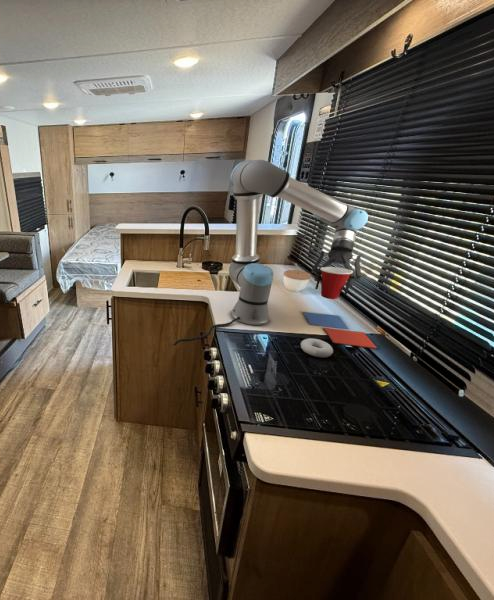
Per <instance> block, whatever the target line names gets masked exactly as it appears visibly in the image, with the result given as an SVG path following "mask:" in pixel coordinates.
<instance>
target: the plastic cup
mask: <svg viewBox="0 0 494 600" xmlns="http://www.w3.org/2000/svg"><path fill="white" fill-rule="evenodd" d="M319 268H320V267H319ZM320 269H321V271H322V272H321V273H322V274H321V281H320V283H321V286H320V288H321V290H320V295H321V297H322V298H325V299H328V300H337V299H338V298H339V296H340V294H341V292H343V289H344V287H345V286H346V284H347V281H348V278H349V276H350V275H351V274H352V273H353V272H354V270H353V269H352V270H353V271H352V270H348V269H345V267H336V266H328V267H325V268H324V267H322V268H320Z"/></svg>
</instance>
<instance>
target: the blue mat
mask: <svg viewBox="0 0 494 600" xmlns="http://www.w3.org/2000/svg"><path fill="white" fill-rule="evenodd" d="M302 313H303V315H304V317H305V319H306V320H307V322H308V324H309V325H312V326H321V327H326V328H334V329H342V330H349V327H348V326H347V325H346V323H345V322H344V321H343V320H342V318H341V317H340V316H339V315H333V314H324V313H317V312H308V311H307V312H306V311H303V312H302Z"/></svg>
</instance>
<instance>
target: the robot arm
mask: <svg viewBox="0 0 494 600" xmlns="http://www.w3.org/2000/svg"><path fill="white" fill-rule="evenodd" d="M230 183H231V185H232V187H233V198H234V199H235V200H236V224H235V228H236V229H235V254H233V255H232V257H231V262H230V264H229V266H228V274H229V277H230V279H232V281H233V282H235V283H236V285H237V286H238V287H239V288H240V289H239V294H238V299H237V301H236V303H235V304H234V306H233V308H232V310H231V318H233V319H232V320H231V321H229V322H226V323H218V324H214V325H212V326H210V327H209V329H208V332H207V333H205V334H203V335H199V336H195V337H191V338H179V339H177V340H175V342H174V343H173V344H172V345H173V346H177V345H178V344H179V343H180V342H181V343H182V342H192V341H196V340H197V341H198V340H201V339H204V338H206V337H208V336H210V335H211V333H212V330H213V329H215V328H220V327H227V326H230V325H232V324H233V323H235V322H238V323H239V322H240V323H241V324H245V325H248V326H249V325H250V326H264V325H266V324H268V322H269V320H270V314H269V307H268V303H269V298H270V293H271V290H272V285H273V281H274V270H273V269H272V268H271V267H270V266H268V265H264V264H263V263H260V259H261V258H260V257H261V256H260V255H259V254H258V253H257V244H258V243H257V242H258V227H259V210H260V209H259V208H260V207H259V206H260V198H261V197H262V196H263V195H266V196H268V197H270V198H273V199H274V198H279V199H282V200H284V201H286V202H288V203H290V204H292V205H295V206H296V207H298V208H301V209H302V210H305V211H308V212H310V213H312V215H313V216H314V217H315V218H316V219H317V220H319V221H322V222H323V223H325V224H326V225H328V226H330V227H331V228H333V229H334V235H333V238H332V242H331V246H330V250H329V251H328V252H326V251H324V250H321V251H320V254H319V257H318V259H317V260H316V262H315V263H314V265H313V267H312V268H311V273H312V274H315V277H314V279H313V280H314V282H316V284H315V290H318V288H319V284H320V283H321V279H322V273H321V272H322V271H321V269H320V268H322V267H324V268H325V267H330V265H332V264H338V265H343V268H344V269H348V270H352V271H353V273H352V274H351V275H350V276H349V278H348V279H347V281H346V284H345V288H344V289H345V290H344V295H347V294H348V292H349V289H350V288H352V287H353V285H354V283H355V280H358V281H359V280H360V279H361V277H362V270H361V269H362V268H361V262H360V260H361V257H362V256H361V255H360V254H358V255H353V251H354V246H355V241H356V237H357V232H358V230H360V229H362V228H363V227H364V226H366V224H367V222H368V220H369V215H368V212H366V210H363V209H360V208H355V207H353V206H351V205H348V204H347V203H345V202H342V201H340V200H339V199H336V198H335V197H332V196H330V195H328V194H326V193H324V192H322V191H320V190H317V189H315V188H314V187H312V186H309V185H308V184H306V183H304V182H301V181H299V180H297V179H295V178H293V177H291V174H290V172H288V171H287V170H284V169H283V168H281V167H279V166H277V165H276V164H273V163H272V162H269V161H267V160H265V159H247V160H244V161H241V162H240V163H238V164H236V166H234V167H233V169H232V171H231V174H230ZM326 257H328V259H327V260H326V262H324V263H323V264H322V265H321V266H320V264H321V263H322V262H323V260H324V259H325V258H326ZM350 260H352V261H353V263H354V270H353V268H352V266H351V263H350ZM319 266H320V267H319ZM354 271H355V272H354Z"/></svg>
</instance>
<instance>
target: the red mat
mask: <svg viewBox="0 0 494 600" xmlns="http://www.w3.org/2000/svg"><path fill="white" fill-rule="evenodd" d="M323 330H324V331H325V333H326V334H327V336H328V337H329V339H330V340H331V342H332V343H333V344H336V345H337V344H338V345H344V346H345V345H346V346H352V347H361V348H367V349H374V350H377V349H378V347H377V346H376V345H375V344H374V343H373V341H372V340H371V339H370V338H369V337H368V336H367V335H366V333H365V332H362V331H354V330H348V329H340V328H332V327H324V328H323Z"/></svg>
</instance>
